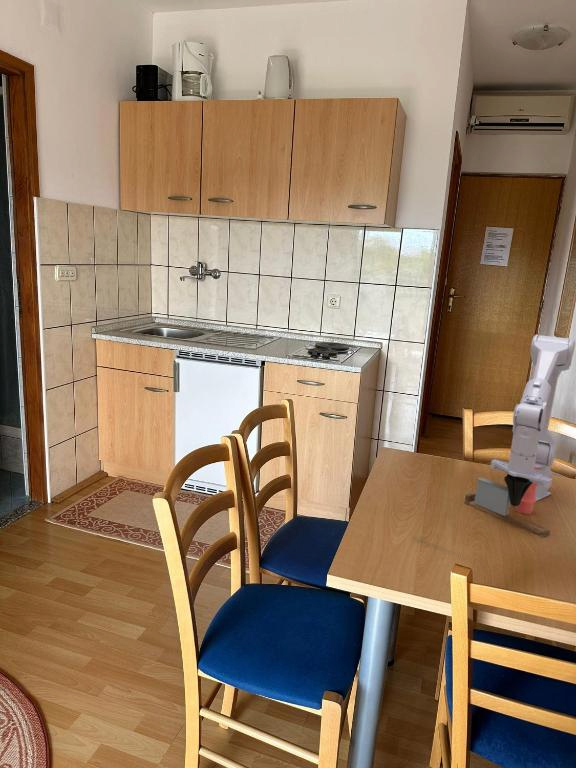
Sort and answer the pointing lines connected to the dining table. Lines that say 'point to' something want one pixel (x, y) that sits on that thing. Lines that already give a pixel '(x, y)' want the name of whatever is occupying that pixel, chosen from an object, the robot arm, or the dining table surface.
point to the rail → (507, 517)
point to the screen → (492, 496)
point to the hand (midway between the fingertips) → (514, 504)
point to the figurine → (528, 499)
